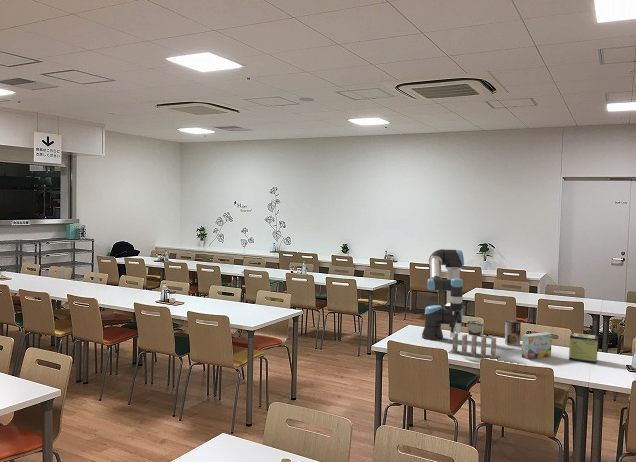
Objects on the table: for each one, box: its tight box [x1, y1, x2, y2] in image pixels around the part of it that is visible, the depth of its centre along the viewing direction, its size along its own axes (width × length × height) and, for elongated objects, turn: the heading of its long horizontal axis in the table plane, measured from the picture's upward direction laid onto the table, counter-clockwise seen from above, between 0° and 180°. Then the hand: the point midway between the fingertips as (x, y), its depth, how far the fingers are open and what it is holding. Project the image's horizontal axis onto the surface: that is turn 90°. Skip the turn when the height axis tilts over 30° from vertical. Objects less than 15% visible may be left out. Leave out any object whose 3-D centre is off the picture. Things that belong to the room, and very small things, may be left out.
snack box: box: [521, 331, 553, 360], centre depth 335 cm, size 21×6×15 cm, turn 117°
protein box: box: [568, 332, 599, 365], centre depth 331 cm, size 10×16×16 cm
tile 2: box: [480, 336, 487, 357], centre depth 333 cm, size 2×5×12 cm, turn 151°
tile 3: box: [470, 335, 478, 356], centre depth 336 cm, size 2×5×12 cm, turn 150°
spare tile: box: [451, 332, 459, 353], centre depth 341 cm, size 2×5×12 cm, turn 151°
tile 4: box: [461, 333, 468, 355], centre depth 338 cm, size 2×5×12 cm, turn 151°
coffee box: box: [504, 320, 521, 346], centre depth 368 cm, size 9×6×16 cm
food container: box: [466, 320, 484, 338], centre depth 395 cm, size 12×6×10 cm, turn 47°
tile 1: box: [490, 337, 497, 359], centre depth 330 cm, size 2×5×12 cm, turn 151°
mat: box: [447, 349, 501, 361], centre depth 336 cm, size 31×11×1 cm, turn 61°
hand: (455, 335), depth 342 cm, fingers open, 13 cm apart
